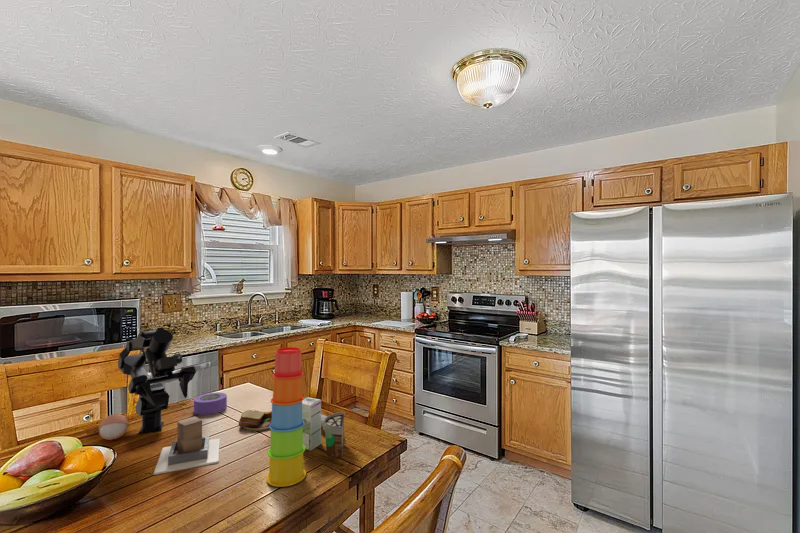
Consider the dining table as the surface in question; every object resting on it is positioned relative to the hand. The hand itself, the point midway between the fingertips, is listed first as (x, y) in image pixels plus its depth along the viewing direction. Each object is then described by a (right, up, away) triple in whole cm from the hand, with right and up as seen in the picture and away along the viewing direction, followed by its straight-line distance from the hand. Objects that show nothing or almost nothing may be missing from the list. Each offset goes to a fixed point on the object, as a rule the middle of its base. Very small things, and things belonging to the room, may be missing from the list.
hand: (170, 400), depth 123 cm
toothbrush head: (+45, -14, +13) cm, 49 cm away
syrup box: (+45, -14, -2) cm, 47 cm away
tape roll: (-2, -14, +29) cm, 32 cm away
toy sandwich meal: (+23, -14, +14) cm, 31 cm away
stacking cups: (+43, -14, -20) cm, 49 cm away
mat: (+11, -14, -8) cm, 19 cm away
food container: (+53, -14, -6) cm, 55 cm away
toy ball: (-21, -14, +3) cm, 25 cm away
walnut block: (+11, -13, -8) cm, 19 cm away
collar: (+11, -14, -8) cm, 19 cm away
